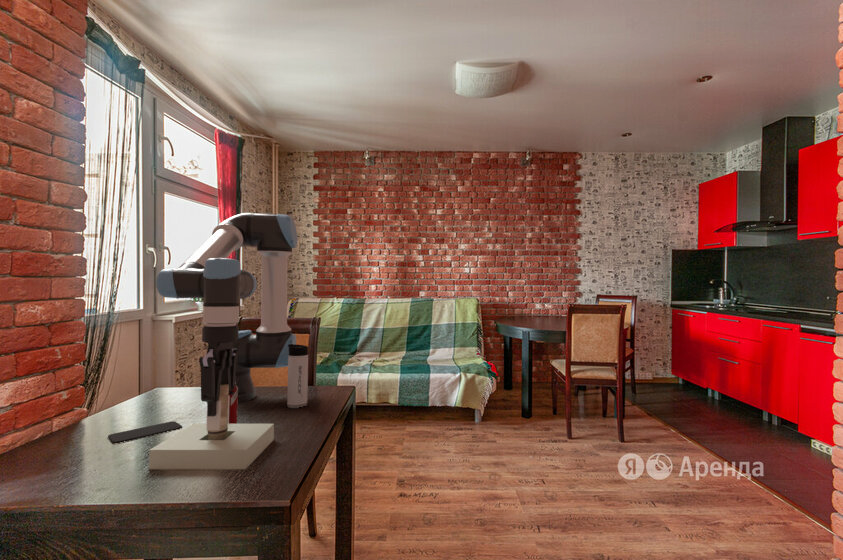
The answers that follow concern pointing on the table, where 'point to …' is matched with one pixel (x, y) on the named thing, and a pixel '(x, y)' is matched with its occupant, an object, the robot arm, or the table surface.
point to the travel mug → (297, 376)
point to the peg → (222, 432)
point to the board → (212, 448)
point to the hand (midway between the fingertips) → (217, 426)
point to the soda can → (233, 406)
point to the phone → (143, 432)
